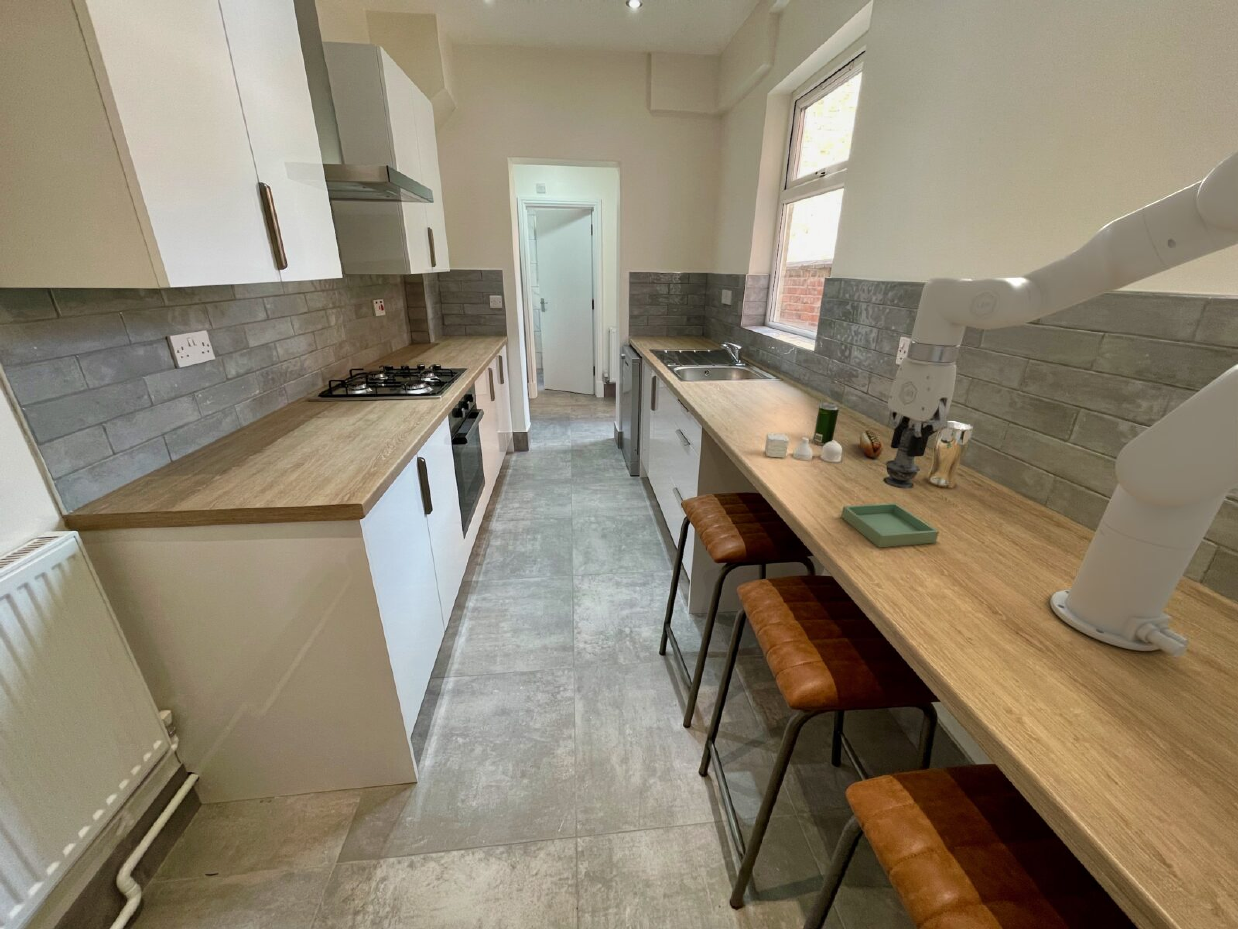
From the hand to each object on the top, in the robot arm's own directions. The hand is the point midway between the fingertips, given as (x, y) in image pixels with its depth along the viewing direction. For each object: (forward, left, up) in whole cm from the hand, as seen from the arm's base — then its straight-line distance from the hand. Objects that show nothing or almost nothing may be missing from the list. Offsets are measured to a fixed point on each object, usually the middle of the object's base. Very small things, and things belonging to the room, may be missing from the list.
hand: (906, 450), depth 92 cm
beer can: (+50, -16, -17) cm, 55 cm away
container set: (+40, -4, -17) cm, 44 cm away
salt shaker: (0, 0, -7) cm, 7 cm away
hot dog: (+41, -25, -17) cm, 51 cm away
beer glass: (+19, -29, -17) cm, 39 cm away
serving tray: (0, 0, -17) cm, 17 cm away
